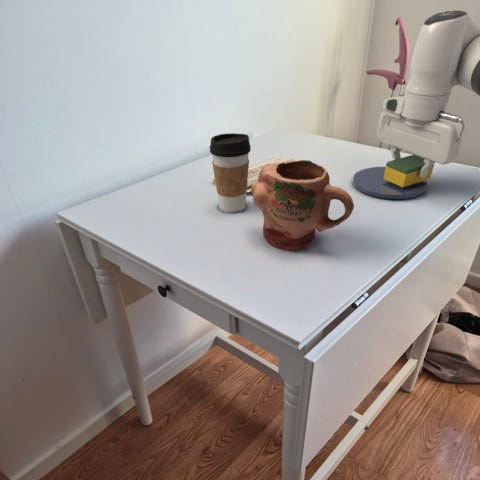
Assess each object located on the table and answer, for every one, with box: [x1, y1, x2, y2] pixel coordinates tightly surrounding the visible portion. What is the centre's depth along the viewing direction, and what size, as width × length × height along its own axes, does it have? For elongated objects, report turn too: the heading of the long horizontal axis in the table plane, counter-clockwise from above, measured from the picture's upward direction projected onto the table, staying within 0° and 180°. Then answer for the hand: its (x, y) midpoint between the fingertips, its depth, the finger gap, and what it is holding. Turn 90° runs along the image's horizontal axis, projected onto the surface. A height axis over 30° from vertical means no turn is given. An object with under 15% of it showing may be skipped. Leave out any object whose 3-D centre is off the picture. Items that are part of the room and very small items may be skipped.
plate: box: [352, 166, 428, 200], centre depth 101 cm, size 17×17×1 cm
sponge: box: [383, 154, 435, 187], centre depth 98 cm, size 9×6×4 cm, turn 121°
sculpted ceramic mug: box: [250, 159, 355, 252], centre depth 78 cm, size 20×12×14 cm, turn 64°
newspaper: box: [212, 156, 298, 193], centre depth 106 cm, size 23×12×2 cm, turn 129°
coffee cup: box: [209, 133, 252, 213], centre depth 90 cm, size 8×8×15 cm
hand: (408, 171), depth 98 cm, fingers closed on sponge, 6 cm apart
